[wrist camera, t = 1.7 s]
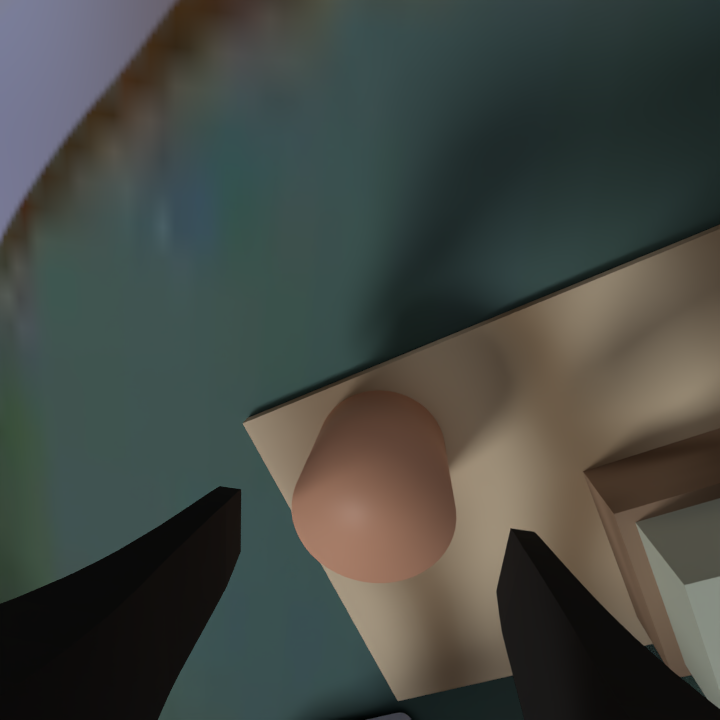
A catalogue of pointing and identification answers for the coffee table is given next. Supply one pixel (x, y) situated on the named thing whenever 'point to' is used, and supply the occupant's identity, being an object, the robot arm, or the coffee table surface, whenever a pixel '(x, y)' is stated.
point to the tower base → (646, 500)
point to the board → (526, 447)
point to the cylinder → (376, 490)
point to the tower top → (690, 584)
